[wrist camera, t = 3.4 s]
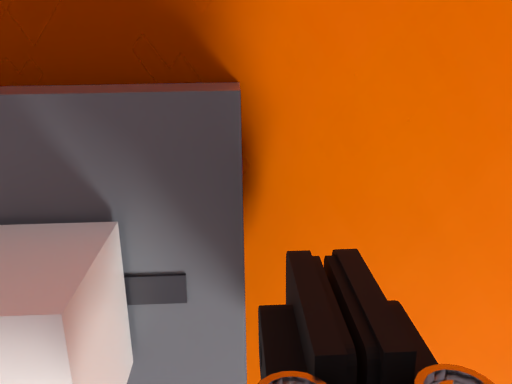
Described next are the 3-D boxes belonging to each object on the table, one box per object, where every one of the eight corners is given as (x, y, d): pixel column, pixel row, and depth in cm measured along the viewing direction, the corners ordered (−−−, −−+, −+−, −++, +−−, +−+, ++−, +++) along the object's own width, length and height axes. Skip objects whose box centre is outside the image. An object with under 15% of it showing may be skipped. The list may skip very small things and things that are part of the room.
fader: (-54, 226, 11) (-204, 327, 7) (117, 221, 11) (58, 317, 8) (-22, 368, 13) (-136, 518, 9) (133, 362, 13) (89, 506, 9)
